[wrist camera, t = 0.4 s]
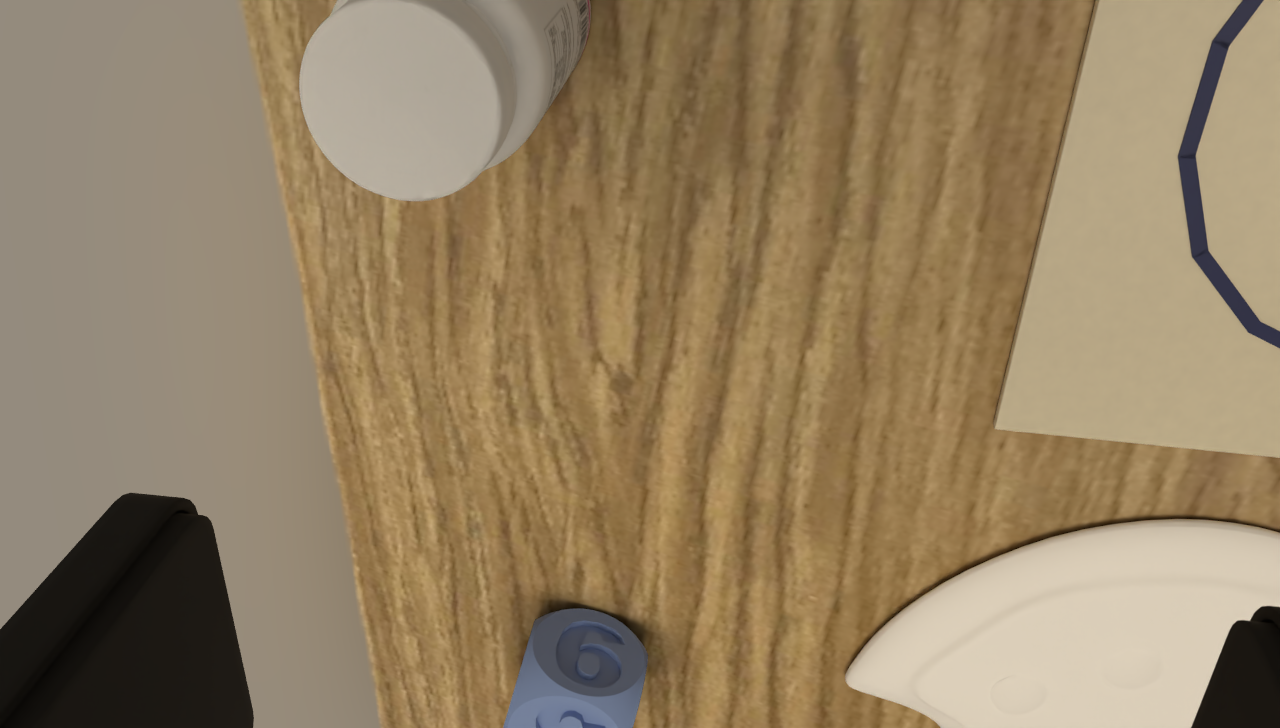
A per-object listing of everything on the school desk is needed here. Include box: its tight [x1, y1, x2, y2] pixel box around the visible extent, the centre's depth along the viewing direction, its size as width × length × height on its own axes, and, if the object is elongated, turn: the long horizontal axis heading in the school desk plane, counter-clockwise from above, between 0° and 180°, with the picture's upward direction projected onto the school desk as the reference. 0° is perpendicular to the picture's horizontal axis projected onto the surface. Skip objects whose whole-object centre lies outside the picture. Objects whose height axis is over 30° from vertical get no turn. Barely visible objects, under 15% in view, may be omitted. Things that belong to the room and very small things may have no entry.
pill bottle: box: [299, 0, 591, 201], centre depth 24 cm, size 5×5×8 cm
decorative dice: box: [503, 608, 648, 728], centre depth 37 cm, size 4×4×4 cm
